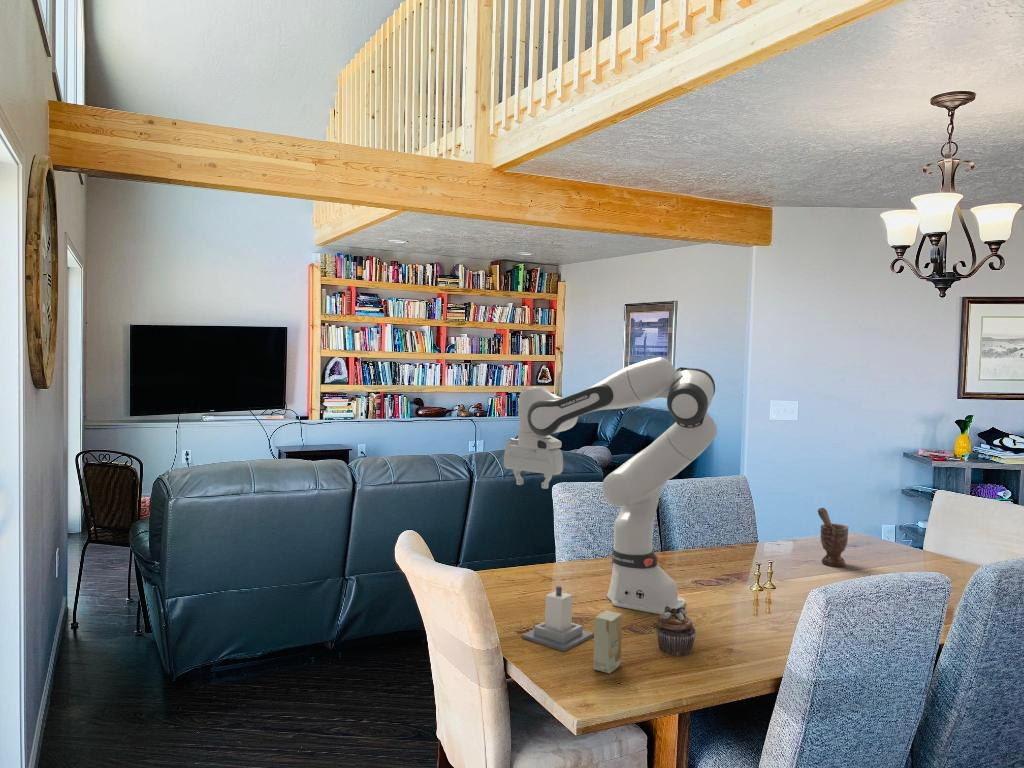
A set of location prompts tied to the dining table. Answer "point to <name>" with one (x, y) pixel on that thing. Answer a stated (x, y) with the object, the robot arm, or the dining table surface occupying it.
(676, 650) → the cupcake
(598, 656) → the skincare box
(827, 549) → the mortar and pestle
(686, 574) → the dining table surface
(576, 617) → the dining table surface
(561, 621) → the plug
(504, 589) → the dining table surface
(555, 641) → the socket plate
